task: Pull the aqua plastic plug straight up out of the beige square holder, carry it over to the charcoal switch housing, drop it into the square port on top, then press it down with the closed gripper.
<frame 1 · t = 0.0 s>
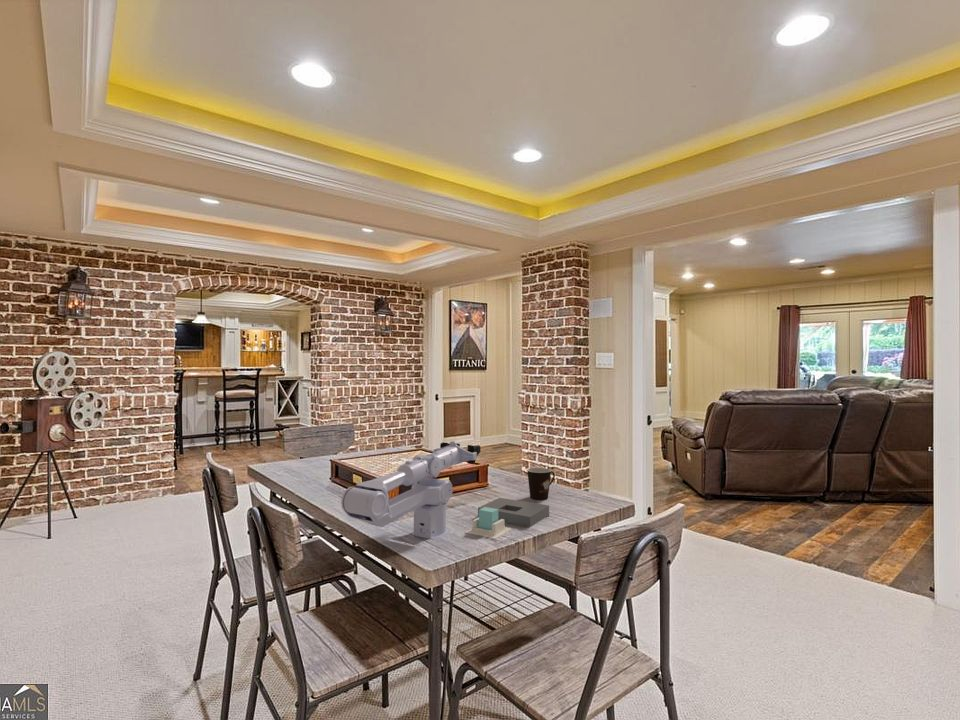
hand: (469, 447, 165), 22 cm above the table, tool horizontal, fingers open, 7 cm apart
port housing: (513, 517, 164), on the table
plug: (488, 530, 150), resting on beige square holder
beige square holder: (488, 532, 150), on the table
coffee mug: (543, 498, 188), on the table
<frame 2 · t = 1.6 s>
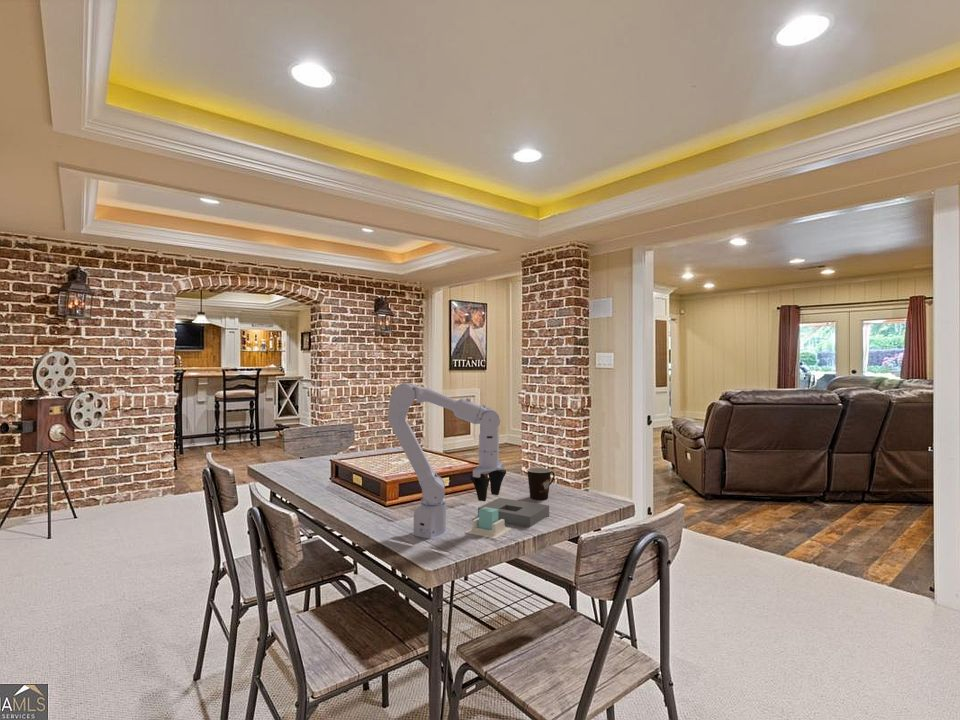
hand: (488, 497, 150), 10 cm above the table, tool pointing down, fingers open, 7 cm apart
nothing on the table moved.
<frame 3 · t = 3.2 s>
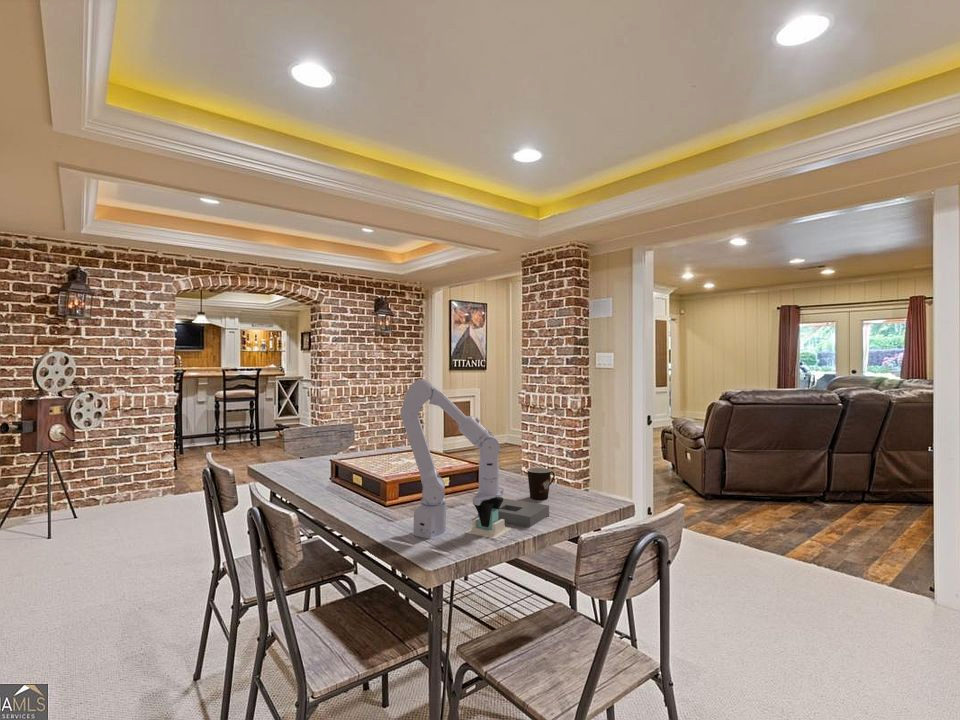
hand: (488, 524, 150), 2 cm above the table, tool pointing down, fingers closed on plug, 3 cm apart
plug: (488, 530, 150), resting on beige square holder, touching gripper
everything else where it was.
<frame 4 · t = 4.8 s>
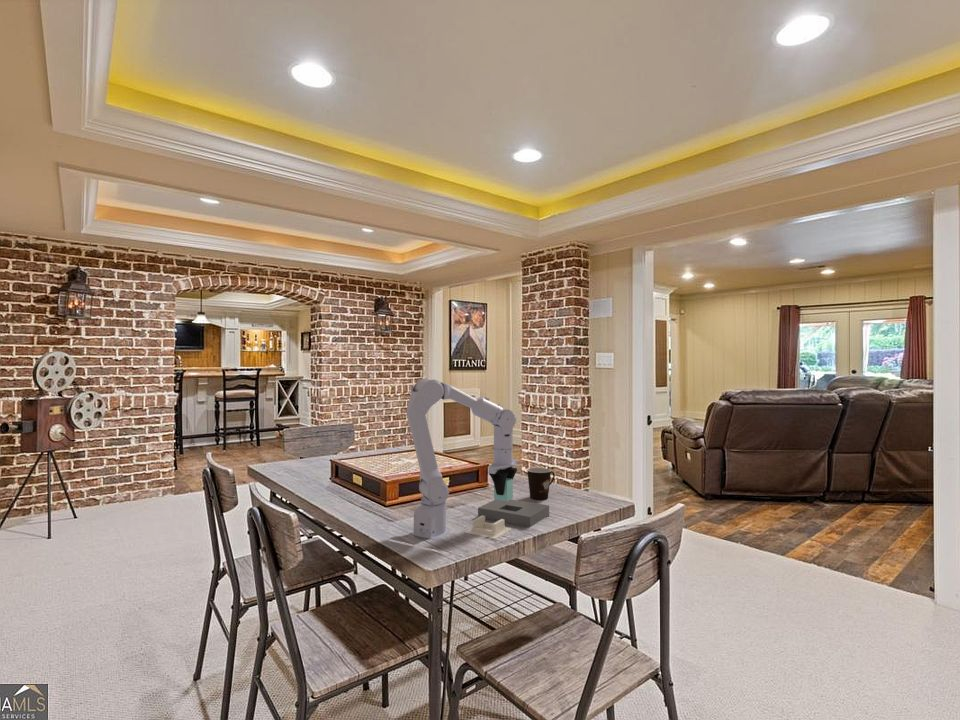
hand: (503, 493, 157), 9 cm above the table, tool pointing down, fingers closed on plug, 3 cm apart
plug: (503, 498, 157), point 8 cm above the table, touching gripper
everything else where it was.
when the fingers open (4 cm above the table, at t = 6.5 s): plug drops 3 cm, resting in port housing.
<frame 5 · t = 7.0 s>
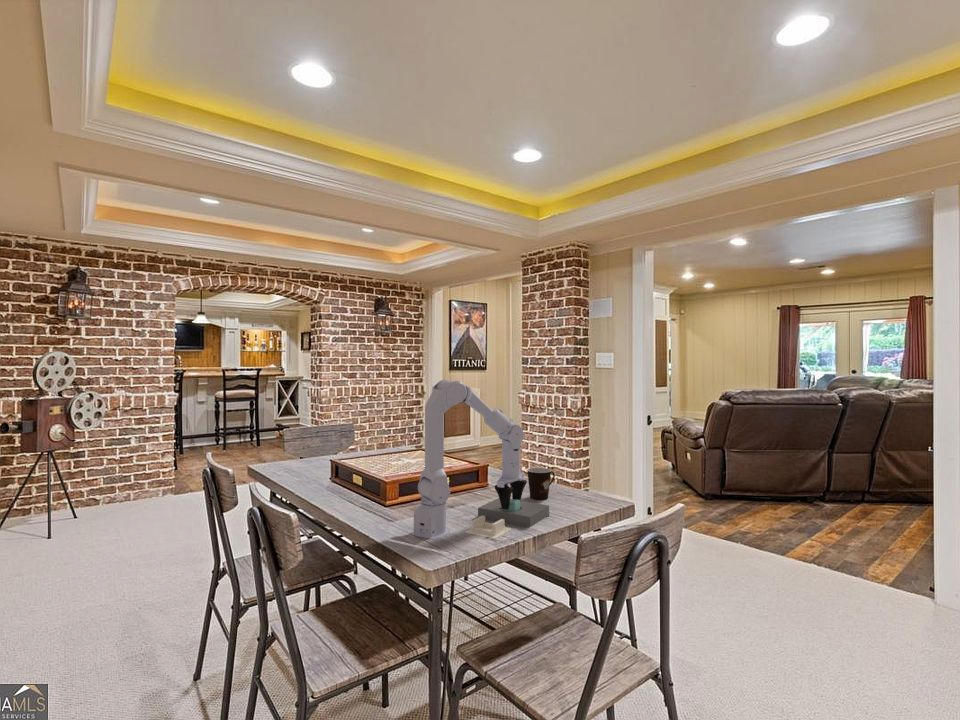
hand: (511, 505, 162), 4 cm above the table, tool pointing down, fingers open, 7 cm apart
plug: (511, 519, 162), resting in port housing
everything else where it was.
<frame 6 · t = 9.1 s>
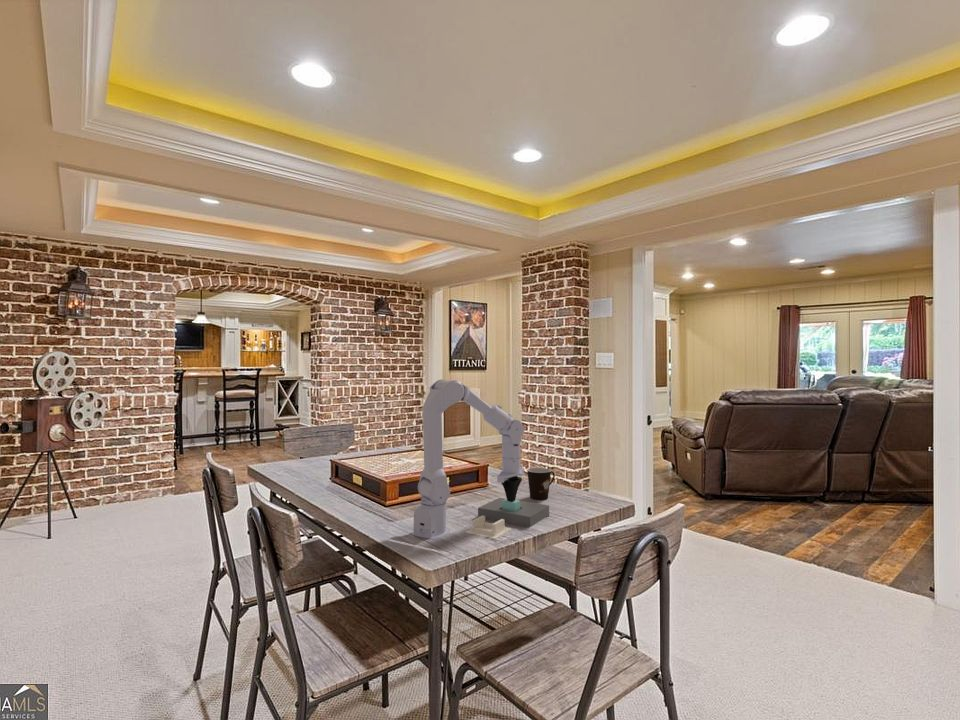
hand: (511, 501, 162), 6 cm above the table, tool pointing down, fingers closed, pressing on plug
plug: (511, 520, 162), resting in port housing, touching gripper
everything else where it was.
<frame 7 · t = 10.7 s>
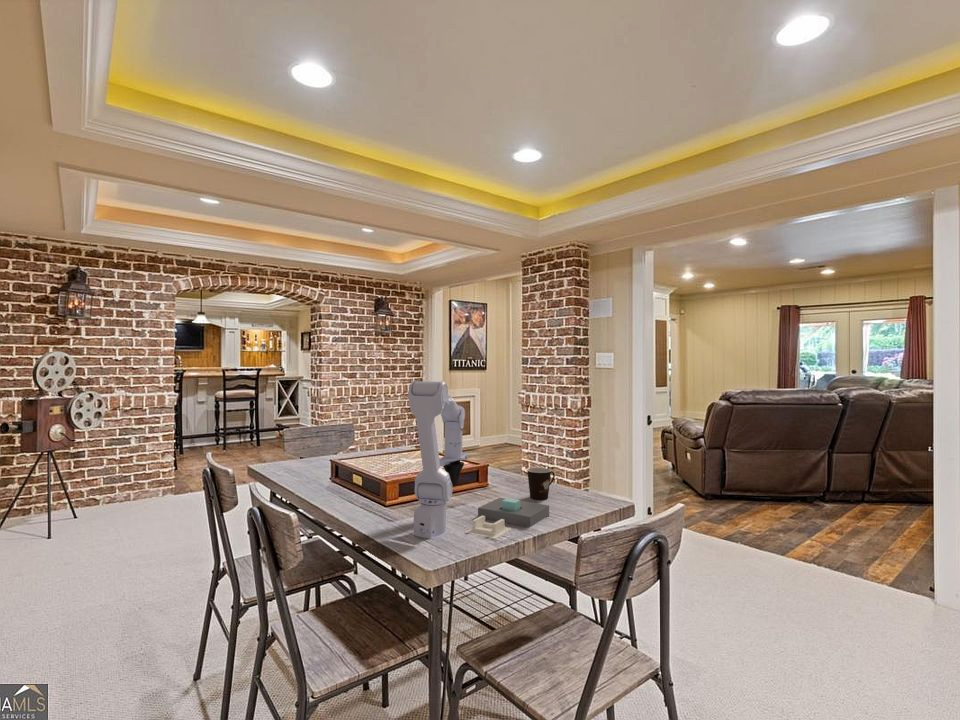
hand: (453, 484, 167), 9 cm above the table, tool pointing down, fingers closed
plug: (511, 519, 162), resting in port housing
everything else where it was.
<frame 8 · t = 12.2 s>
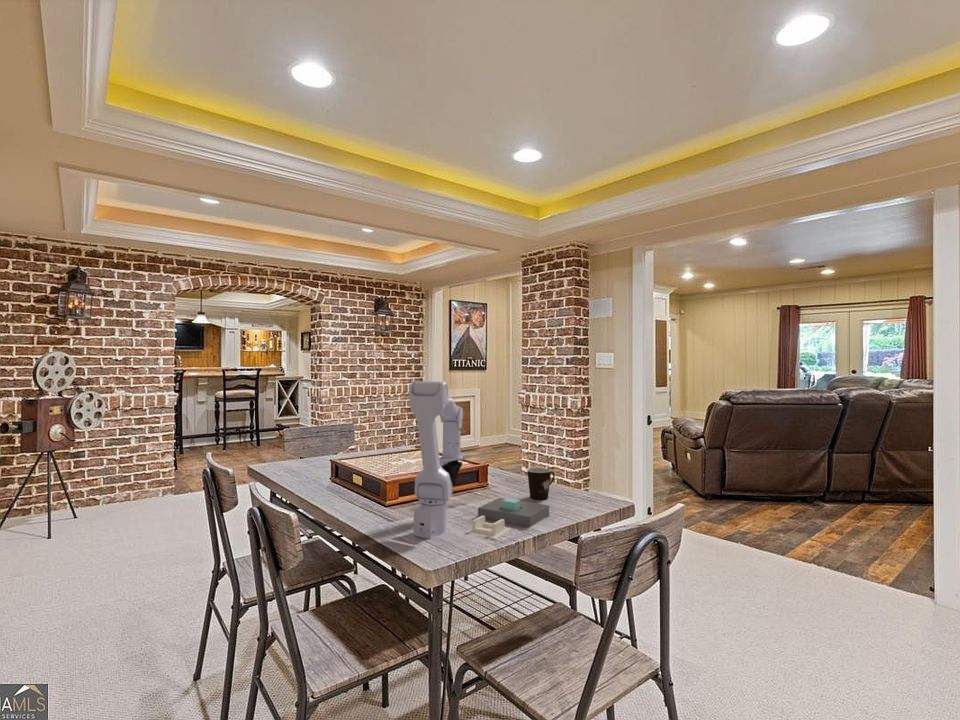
hand: (451, 484, 167), 9 cm above the table, tool pointing down, fingers closed
nothing on the table moved.
at the end: plug 0.1 cm from the target spot on the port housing, point 0.0 cm above the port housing's base; plug tilted 0°; the gripper is holding nothing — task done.
